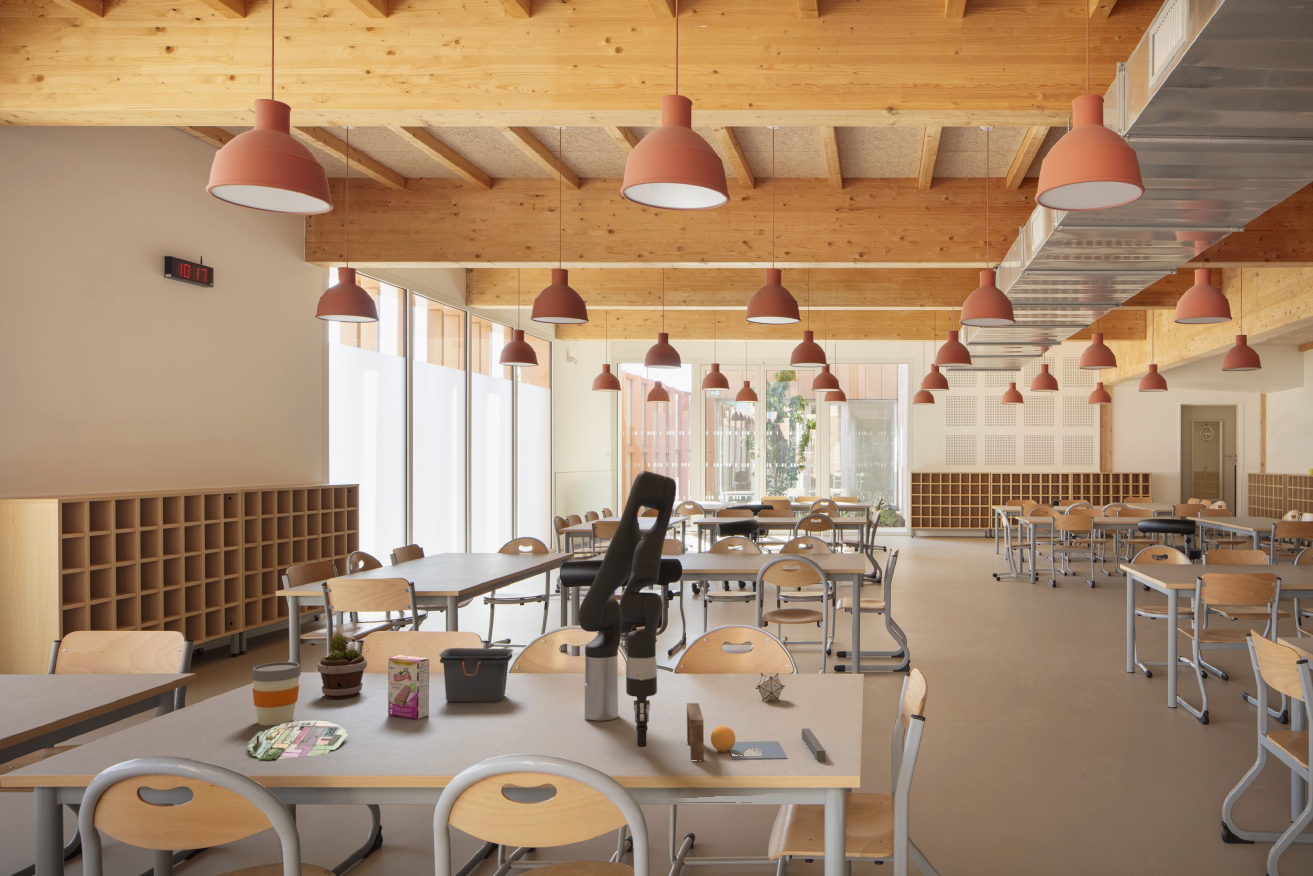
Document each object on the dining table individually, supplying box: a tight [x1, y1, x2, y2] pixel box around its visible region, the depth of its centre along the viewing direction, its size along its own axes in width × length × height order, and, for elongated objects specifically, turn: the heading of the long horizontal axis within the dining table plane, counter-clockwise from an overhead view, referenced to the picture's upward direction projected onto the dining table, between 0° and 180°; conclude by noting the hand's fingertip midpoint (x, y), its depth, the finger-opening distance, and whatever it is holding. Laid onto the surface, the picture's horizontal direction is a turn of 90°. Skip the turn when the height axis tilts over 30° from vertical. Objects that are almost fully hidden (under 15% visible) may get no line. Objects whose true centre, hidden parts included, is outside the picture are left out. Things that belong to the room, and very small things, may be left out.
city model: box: [247, 720, 349, 761], centre depth 216 cm, size 25×24×6 cm
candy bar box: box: [387, 654, 430, 720], centre depth 244 cm, size 11×5×16 cm, turn 65°
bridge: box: [686, 702, 705, 762], centre depth 210 cm, size 3×15×10 cm, turn 2°
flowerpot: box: [316, 631, 368, 700], centre depth 268 cm, size 14×15×20 cm
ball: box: [710, 725, 736, 753], centre depth 210 cm, size 6×6×6 cm
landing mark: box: [729, 740, 788, 760], centre depth 210 cm, size 13×13×1 cm
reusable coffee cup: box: [251, 661, 302, 726], centre depth 240 cm, size 12×12×15 cm
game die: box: [755, 672, 786, 702], centre depth 257 cm, size 9×8×10 cm
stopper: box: [801, 728, 826, 762], centre depth 210 cm, size 2×18×2 cm, turn 2°
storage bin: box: [438, 647, 514, 703], centre depth 261 cm, size 21×16×14 cm
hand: (641, 746), depth 209 cm, fingers closed
